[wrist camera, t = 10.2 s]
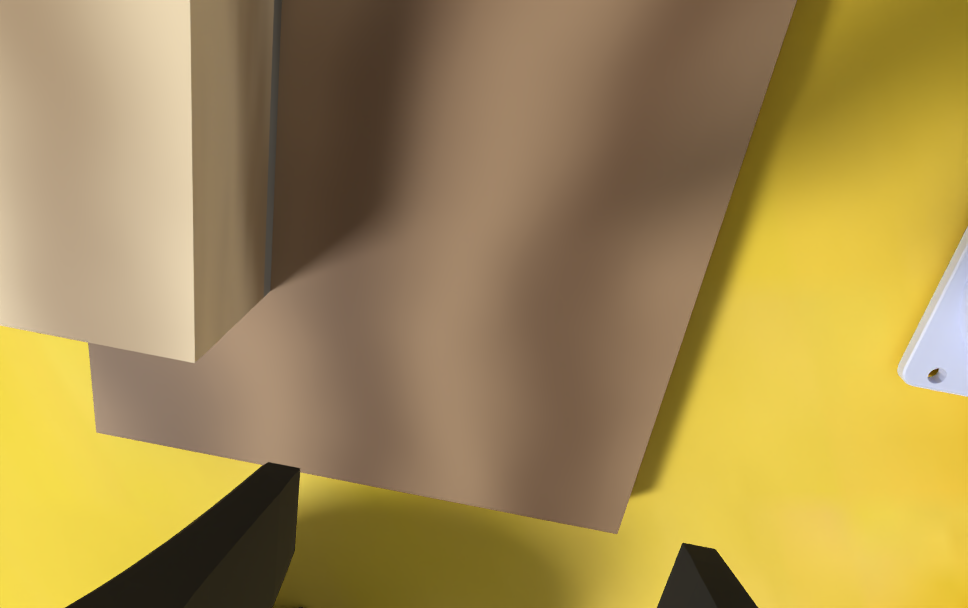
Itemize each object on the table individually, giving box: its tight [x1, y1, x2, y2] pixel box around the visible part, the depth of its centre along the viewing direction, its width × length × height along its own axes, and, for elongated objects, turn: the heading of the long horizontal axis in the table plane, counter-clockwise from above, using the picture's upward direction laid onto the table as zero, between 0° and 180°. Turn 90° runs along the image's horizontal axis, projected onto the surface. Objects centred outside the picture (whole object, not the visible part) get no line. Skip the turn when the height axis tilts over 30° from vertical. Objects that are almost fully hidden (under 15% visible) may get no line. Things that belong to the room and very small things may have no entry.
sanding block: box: [0, 0, 282, 363], centre depth 15 cm, size 6×9×4 cm, turn 170°
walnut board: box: [88, 0, 797, 534], centre depth 18 cm, size 18×22×2 cm
